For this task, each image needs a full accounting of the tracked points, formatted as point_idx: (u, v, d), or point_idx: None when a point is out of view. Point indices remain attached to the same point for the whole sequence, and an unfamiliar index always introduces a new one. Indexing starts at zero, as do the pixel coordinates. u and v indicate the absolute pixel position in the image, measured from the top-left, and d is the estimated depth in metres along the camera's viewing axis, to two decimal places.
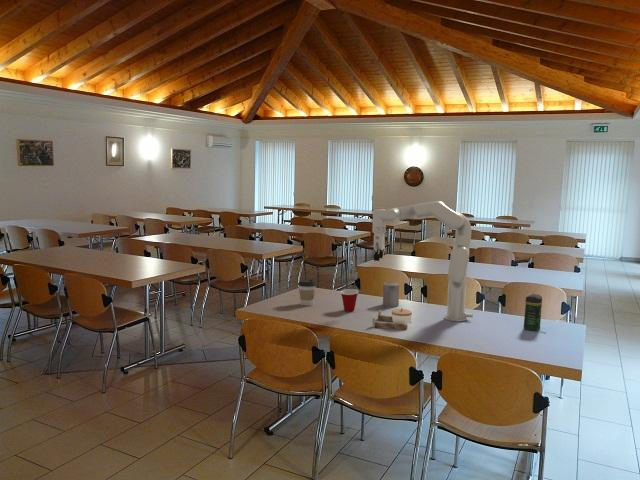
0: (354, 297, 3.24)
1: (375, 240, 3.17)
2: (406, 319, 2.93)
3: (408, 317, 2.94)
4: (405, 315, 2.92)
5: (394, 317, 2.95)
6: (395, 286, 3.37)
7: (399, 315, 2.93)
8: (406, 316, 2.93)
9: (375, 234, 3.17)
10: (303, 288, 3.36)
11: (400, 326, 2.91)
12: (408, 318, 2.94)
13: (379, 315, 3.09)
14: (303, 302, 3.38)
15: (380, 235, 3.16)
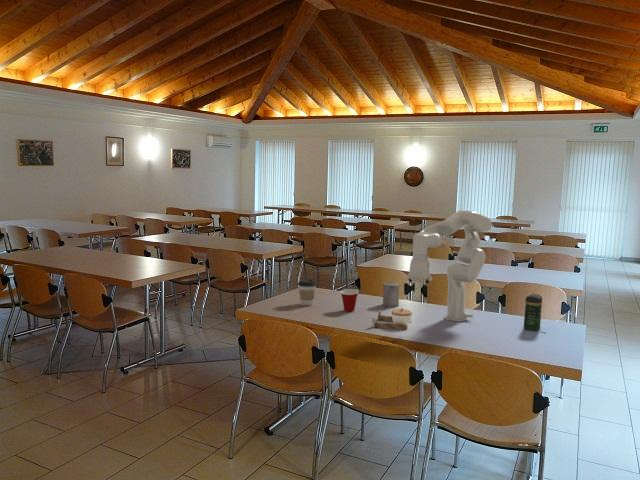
0: (354, 297, 3.24)
1: (428, 268, 2.90)
2: (406, 319, 2.93)
3: (408, 317, 2.94)
4: (405, 315, 2.92)
5: (394, 317, 2.95)
6: (395, 286, 3.37)
7: (399, 315, 2.93)
8: (406, 316, 2.93)
9: (427, 262, 2.89)
10: (303, 288, 3.36)
11: (400, 326, 2.91)
12: (408, 318, 2.94)
13: (379, 315, 3.09)
14: (303, 302, 3.38)
15: None
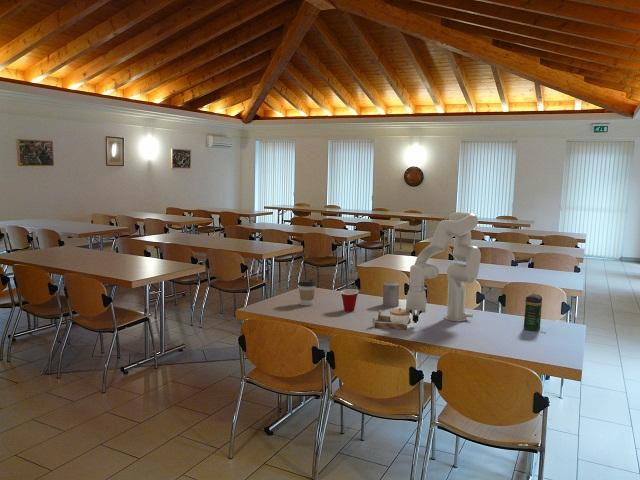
0: (354, 297, 3.24)
1: (425, 300, 2.92)
2: (404, 319, 2.93)
3: (406, 317, 2.94)
4: (403, 315, 2.93)
5: (392, 317, 2.95)
6: (395, 286, 3.37)
7: (397, 315, 2.93)
8: (404, 316, 2.93)
9: (424, 293, 2.92)
10: (303, 288, 3.36)
11: (400, 326, 2.91)
12: (406, 318, 2.94)
13: (379, 315, 3.09)
14: (303, 302, 3.38)
15: None
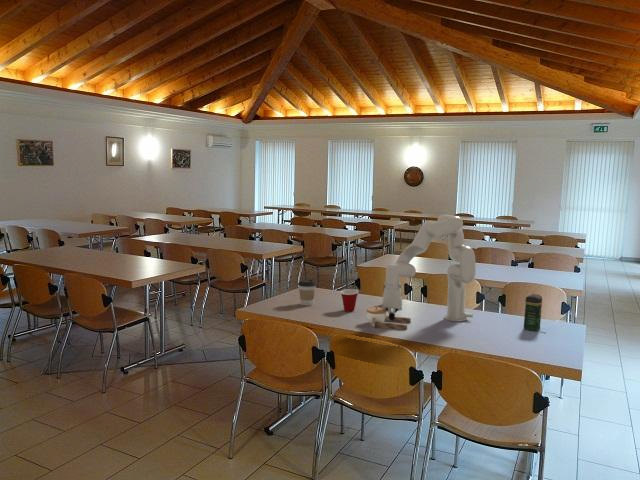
0: (354, 297, 3.24)
1: (401, 298, 2.96)
2: (382, 317, 2.97)
3: (384, 315, 2.97)
4: (381, 313, 2.96)
5: (370, 315, 2.97)
6: None
7: (375, 313, 2.96)
8: (382, 314, 2.96)
9: (400, 291, 2.95)
10: (303, 288, 3.36)
11: (400, 326, 2.91)
12: (384, 316, 2.97)
13: None
14: (303, 302, 3.38)
15: None
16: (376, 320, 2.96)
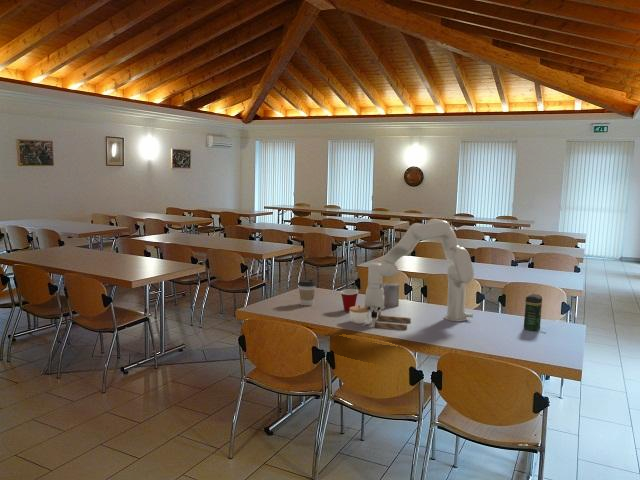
0: (354, 297, 3.24)
1: (383, 296, 2.98)
2: (365, 316, 2.99)
3: (367, 313, 3.00)
4: (364, 312, 2.98)
5: (353, 314, 2.99)
6: (395, 286, 3.37)
7: (358, 312, 2.98)
8: (365, 312, 2.99)
9: (382, 290, 2.98)
10: (303, 288, 3.36)
11: (400, 326, 2.91)
12: (367, 314, 3.00)
13: (379, 315, 3.09)
14: (303, 302, 3.38)
15: None
16: (359, 319, 2.99)
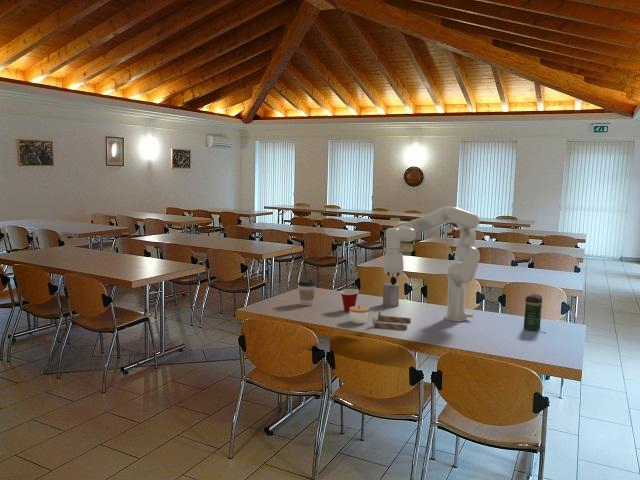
0: (354, 297, 3.24)
1: (402, 261, 2.97)
2: (365, 316, 2.99)
3: (366, 313, 3.00)
4: (364, 312, 2.98)
5: (353, 314, 2.99)
6: (395, 286, 3.37)
7: (358, 312, 2.98)
8: (365, 312, 2.99)
9: (401, 255, 2.96)
10: (303, 288, 3.36)
11: (400, 326, 2.91)
12: (366, 314, 3.00)
13: (379, 315, 3.09)
14: (303, 302, 3.38)
15: None
16: (359, 319, 2.99)
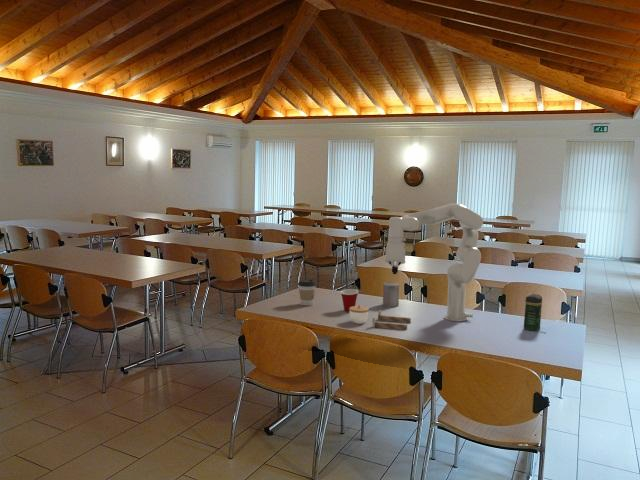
0: (354, 297, 3.24)
1: (404, 251, 2.96)
2: (365, 316, 2.99)
3: (366, 313, 3.00)
4: (364, 312, 2.98)
5: (353, 314, 2.99)
6: (395, 286, 3.37)
7: (358, 312, 2.98)
8: (365, 312, 2.99)
9: (403, 244, 2.96)
10: (303, 288, 3.36)
11: (400, 326, 2.91)
12: (366, 314, 3.00)
13: (379, 315, 3.09)
14: (303, 302, 3.38)
15: None
16: (359, 319, 2.99)
